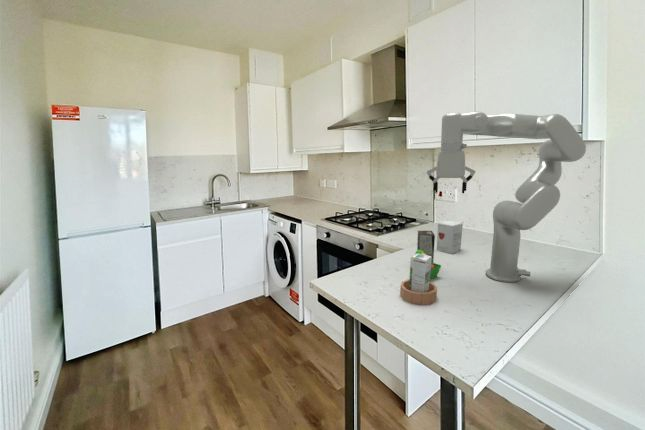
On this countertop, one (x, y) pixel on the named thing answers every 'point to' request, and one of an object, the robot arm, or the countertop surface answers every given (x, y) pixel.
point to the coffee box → (426, 243)
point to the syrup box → (420, 273)
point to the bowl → (418, 294)
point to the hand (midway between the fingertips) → (449, 192)
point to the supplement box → (449, 236)
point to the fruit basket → (434, 266)
